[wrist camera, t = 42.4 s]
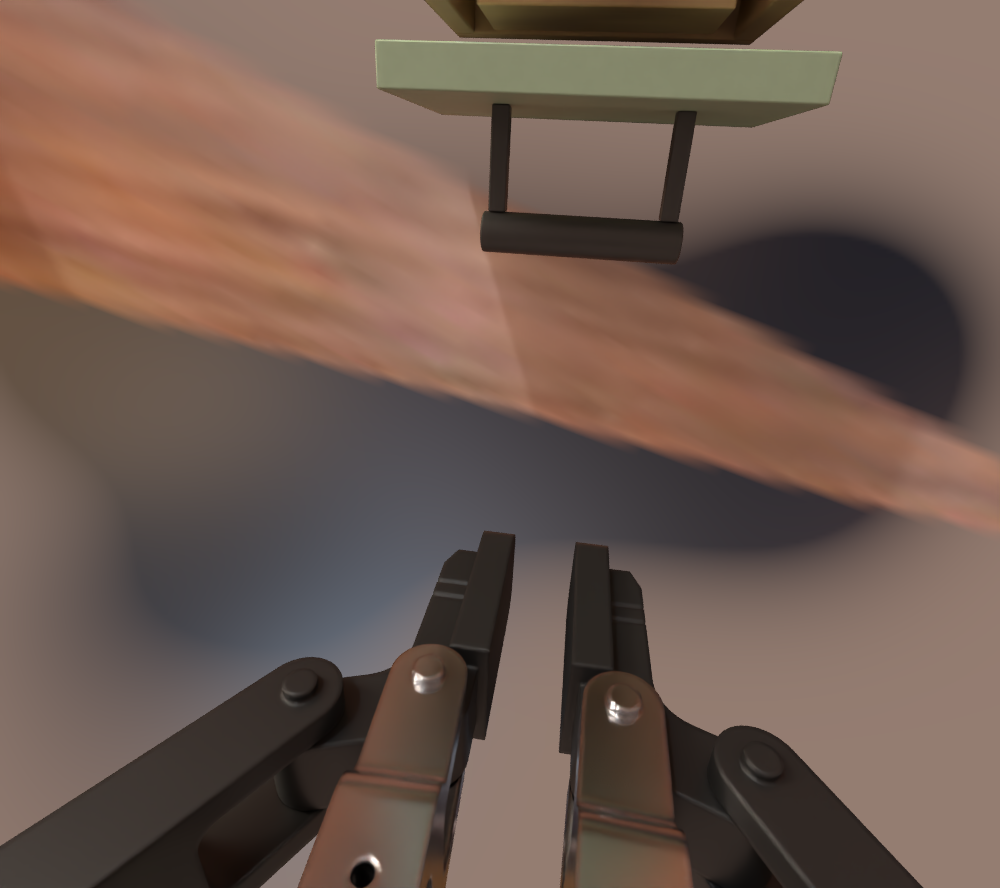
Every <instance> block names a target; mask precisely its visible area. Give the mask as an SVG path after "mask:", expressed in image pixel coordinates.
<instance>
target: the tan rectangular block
mask: <svg viewBox="0 0 1000 888" xmlns="http://www.w3.org/2000/svg"><path fill="white" fill-rule="evenodd" d="M477 5H478V6H479V8H480V9H481V11H482V12H483V14H484V15H485V17H486V18H487V20H488V21H489V23H490V24H491V26H492V27H493V29H495V30H536V31H582V32H629V33H675V34H714V32H715V31H716V30H717V29H718V28H719V27H720V25H721V24H722V23H723V22H724V21H725V20H726V19H727V17H728V16H729V15H730V14H731V13H732V12H733V10H734V9H735V8H736V5H737V0H477Z"/></svg>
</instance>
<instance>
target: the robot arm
mask: <svg viewBox="0 0 1000 888" xmlns="http://www.w3.org/2000/svg"><path fill="white" fill-rule="evenodd" d="M514 550H515V535H514V534H507V533H499V532H491V531H484V532H483V535H482V538H481V542H480V545H479V548H478V552H474V551H466V550H458V551H457V552H455V553H454V554H453V555H452V556H451V557H450V558H449V559H448V560H447V561H446V562H445V563H444V565H443V568H442V570H441V573H440V576H439V578H438V582H437V584H436V587H435V589H434V592H433V595H432V597H431V599H430V602H429V605H428V607H427V610H426V613H425V616H424V618H423V621H422V624H421V626H420V629H419V631H418V634H417V636H416V639H415V642H414V645H413V647H412V648H411V649H408V650H407V651H405V652H404V653H402V654H401V655H400V656H399V657H398V658H397V659H396V660H395V662H394V663H393V665H392V667H391V668H389V669H387V670H385V671H382V672H378V673H373V674H368V675H361V676H352V677H344V678H342V674H341V672H340V670H339V669H338V668H337V666H336V665H335V664H333V663H332V662H330V661H328V660H325V659H322V658H316V657H306V658H299V659H296V660H293V661H290V662H288V663H285V664H283V665H282V666H280V667H278V668H277V669H275V670H273V671H272V672H271V673H269V674H267V675H266V676H264V677H263V678H261V679H259V680H258V681H257V682H255V683H253V684H252V685H250V686H249V687H247V688H245V689H244V690H243V691H241V692H239V693H238V694H236V695H235V696H233V697H232V698H230V699H228V700H227V701H225V702H224V703H222V704H221V705H219V706H217V707H216V708H214V709H213V710H211V711H210V712H208V713H207V714H205V715H203V716H202V717H200V718H199V719H197V720H196V721H194V722H193V723H191V724H189V725H188V726H186V727H185V728H183V729H182V730H180V731H179V732H177V733H175V734H174V735H172V736H171V737H169V738H168V739H166V740H165V741H163V742H162V743H160V744H158V745H157V746H155V747H154V748H152V749H151V750H149V751H147V752H146V753H144V754H143V755H141V756H140V757H138V758H137V759H135V760H133V761H132V762H130V763H129V764H127V765H126V766H124V767H123V768H121V769H119V770H118V771H116V772H115V773H113V774H112V775H110V776H109V777H107V778H105V779H104V780H103V781H101V782H99V783H98V784H96V785H95V786H93V787H92V788H90V789H88V790H87V791H85V792H84V793H82V794H81V795H79V796H77V797H76V798H74V799H73V800H71V801H70V802H68V803H67V804H65V805H64V806H62V807H61V808H59V809H57V810H56V811H54V812H53V813H51V814H50V815H48V816H46V817H45V818H43V819H42V820H40V821H39V822H37V823H36V824H34V825H32V826H31V827H29V828H28V829H26V830H25V831H23V832H21V833H20V834H18V835H17V836H15V837H14V838H12V839H11V840H9V841H8V842H6V843H4V844H3V845H1V846H0V888H260V887H261V886H262V885H263V884H264V883H265V882H266V881H267V880H268V879H269V878H271V877H272V875H274V874H275V873H276V872H277V871H278V870H279V869H280V868H281V867H283V866H284V865H285V864H286V863H287V862H288V861H289V860H290V859H291V858H292V857H293V856H294V855H295V854H297V853H298V852H299V851H300V850H301V849H302V848H303V847H304V846H305V845H306V844H308V843H309V842H310V841H311V840H312V839H313V838H314V837H315V836H316V835H317V834H318V835H317V838H316V840H315V843H314V845H313V848H312V851H311V853H310V856H309V859H308V861H307V864H306V867H305V869H304V872H303V874H302V877H301V880H300V882H299V885H298V888H446V881H447V875H448V869H449V864H450V858H451V852H452V846H453V839H454V834H455V828H456V823H457V817H458V811H459V805H460V799H461V793H462V788H463V782H464V774H465V768H466V765H467V762H468V758H469V754H470V749H471V744H472V739H473V738H475V739H481V740H485V737H486V731H487V726H488V721H489V716H490V710H491V705H492V700H493V694H494V689H495V684H496V678H497V673H498V668H499V662H500V657H501V652H502V646H503V641H504V636H505V631H506V625H507V620H508V614H509V608H510V601H511V591H512V580H513V579H512V578H513V566H514ZM608 552H609V551H608V546H602V545H595V544H587V543H579V542H576V545H575V551H574V559H573V566H572V574H571V582H570V589H569V598H568V607H567V619H566V634H565V653H564V671H563V689H562V707H561V724H560V725H561V726H560V743H559V753H564V754H570V755H571V762H570V764H571V765H570V780H569V786H568V792H567V803H566V815H565V828H564V829H565V830H564V842H563V854H562V868H561V880H560V888H923V887H922V886H921V885H920V884H919V883H918V882H917V881H916V880H915V879H914V877H913V876H912V875H911V874H910V873H909V872H908V871H907V870H906V869H905V868H904V867H903V866H902V865H901V864H900V863H899V862H898V861H897V860H896V859H895V857H894V856H893V855H892V854H891V853H890V852H889V851H888V850H887V849H886V848H885V847H884V846H883V845H882V844H881V843H880V842H879V841H878V839H877V838H876V837H875V836H874V835H873V834H872V833H871V832H870V831H869V830H868V829H867V828H866V827H865V826H864V825H863V824H862V823H861V822H860V820H859V819H857V817H856V816H855V815H854V814H853V813H852V812H851V811H850V810H849V809H848V808H847V807H846V806H845V805H844V804H843V802H842V801H841V800H840V799H839V798H838V797H837V796H836V795H835V794H834V793H833V792H832V791H831V790H830V789H829V788H828V787H827V786H826V785H825V783H824V782H823V781H821V779H820V778H819V777H818V776H817V775H816V774H815V773H814V772H813V771H812V770H811V769H810V768H809V767H808V765H807V764H806V763H805V762H804V761H803V760H802V759H801V758H800V757H799V756H798V755H797V754H796V753H795V752H794V751H793V750H792V749H791V748H790V747H789V746H788V745H787V744H786V743H784V742H783V741H782V740H781V739H779V738H778V737H776V736H774V735H773V734H771V733H769V732H767V731H764V730H761V729H759V728H756V727H750V726H734V727H731V728H728V729H726V730H724V731H723V732H722V733H721V734H720V735H719V736H716V735H713V734H711V733H709V732H707V731H704V730H702V729H700V728H697V727H695V726H693V725H691V724H689V723H687V722H685V721H683V720H682V719H680V718H679V717H677V716H676V715H675V714H673V713H672V712H671V711H670V710H669V709H668V708H667V707H666V706H665V705H664V704H663V702H662V700H661V698H660V696H659V694H658V693H657V692H656V691H655V688H654V685H653V680H652V672H651V664H650V655H649V647H648V639H647V630H646V625H645V614H644V610H643V598H642V590H641V587H640V586H639V584H638V583H637V581H636V580H635V579H634V577H633V575H632V574H631V573H630V572H628V571H621V570H613V569H609V553H608Z"/></svg>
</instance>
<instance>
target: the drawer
mask: <svg viewBox="0 0 1000 888" xmlns="http://www.w3.org/2000/svg"><path fill="white" fill-rule="evenodd" d="M425 1H426V2H427V4H428V5H429V6H430V7H431V8H432V9H433V10H434V11H435V12H436V13H437V14H438V15H439V16H440V17H441V18H442V19H443V20H444V21H445V22H446V24H448V26H449V27H450V28H451V29H452V30H453V31H454V32H455V33H456V34H457V35H458V36H459V37H463V38H501V39H540V40H541V39H542V40H579V41H580V40H581V41H619V42H620V41H621V42H659V43H698V44H737V45H738V44H739V45H750V44H751V43H752V42H754V41H755V40H756V39H757V38H758V37H760V36H761V35H762V34H763V33H765V32H766V31H767V30H768V29H769V28H771V27H772V26H773V25H774V24H776V23H777V22H778V21H779V20H780V19H781V18H783V17H784V16H785V15H786V14H788V13H789V12H790V11H791V10H792V9H794V8H795V7H796V6H797V5H799V4H800V3H801V2H802V1H804V0H737V5H736V8H735V9H734V10H733V12H732V13H731V14H730V15H729V16H728V17H727V19H726V20H725V21H724V22H723V23H722V24H721V25H720V27H719V28H718V29H717V30H716V31H715V32H714V34H675V33H629V32H582V31H536V30H495V29H493V27H492V26H491V24H490V23H489V21H488V20H487V18H486V17H485V15H484V14H483V12H482V11H481V9H480V8H479V6H478V5H477V0H425ZM375 54H376V78H377V88H378V89H380V90H383V91H385V92H387V93H390V94H392V95H395V96H397V97H400V98H402V99H405V100H407V101H410V102H412V103H414V104H417V105H419V106H422V107H424V108H427V109H429V110H432V111H434V112H437V113H439V114H442V115H462V116H487V117H489V116H490V117H492V121H491V150H490V179H489V208H488V210H489V211H484V213H483V215H482V220H481V229H480V242H481V248H482V250H483V251H484V252H499V253H513V254H528V255H543V256H557V257H572V258H587V259H601V260H616V261H630V262H645V263H661V264H676V262H677V261H678V258H679V255H680V251H681V246H682V239H683V224H682V223H681V222H678V219H679V213H680V207H681V202H682V196H683V190H684V185H685V179H686V173H687V168H688V161H689V156H690V150H691V145H692V139H693V133H694V127H695V125H706V126H729V127H730V126H731V127H755V126H759V125H762V124H765V123H768V122H772V121H775V120H779V119H782V118H786V117H789V116H793V115H796V114H799V113H802V112H806V111H809V110H813V109H816V108H819V107H823V106H826V105H829V103H830V99H831V95H832V92H833V88H834V84H835V80H836V76H837V72H838V69H839V65H840V61H841V58H842V52H834V51H797V50H760V49H757V50H756V49H722V48H684V47H683V48H682V47H643V46H608V45H570V44H568V45H567V44H531V43H492V42H456V41H455V42H454V41H417V40H379V39H377V40H375ZM511 118H535V119H560V120H584V121H608V122H632V123H657V124H674V128H673V133H672V140H671V146H670V153H669V159H668V165H667V171H666V177H665V184H664V191H663V196H662V202H661V208H660V215H659V220H660V221H650V220H633V219H617V218H600V217H582V216H567V215H550V214H533V213H517V212H505V211H507V198H508V177H509V156H510V134H511Z"/></svg>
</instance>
